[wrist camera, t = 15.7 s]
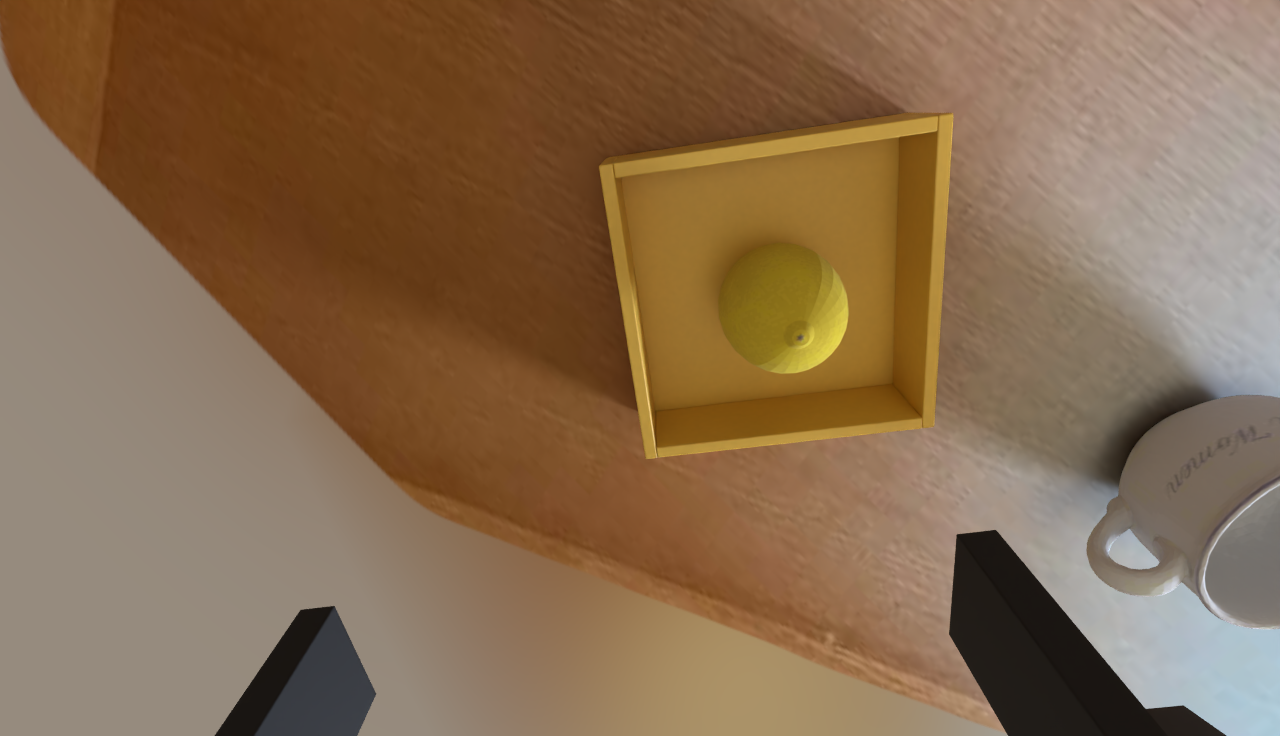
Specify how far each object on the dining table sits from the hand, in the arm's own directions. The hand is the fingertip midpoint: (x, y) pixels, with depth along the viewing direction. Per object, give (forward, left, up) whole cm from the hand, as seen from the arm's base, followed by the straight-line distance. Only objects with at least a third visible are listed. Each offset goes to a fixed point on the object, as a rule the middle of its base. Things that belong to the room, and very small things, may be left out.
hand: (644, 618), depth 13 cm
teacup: (+28, -13, -21) cm, 37 cm away
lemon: (+6, +1, -20) cm, 21 cm away
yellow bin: (+6, +1, -21) cm, 22 cm away
